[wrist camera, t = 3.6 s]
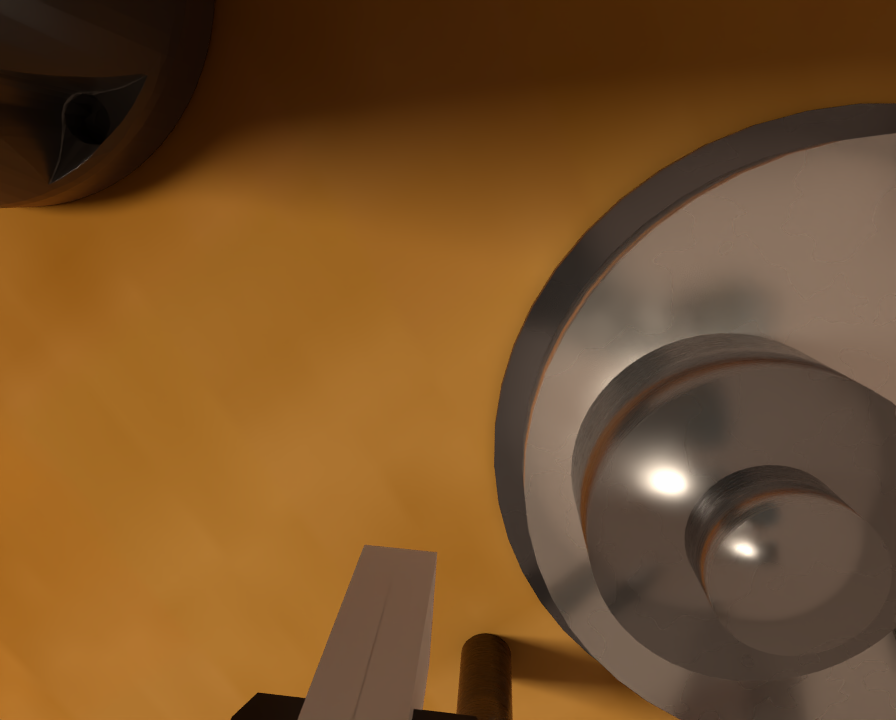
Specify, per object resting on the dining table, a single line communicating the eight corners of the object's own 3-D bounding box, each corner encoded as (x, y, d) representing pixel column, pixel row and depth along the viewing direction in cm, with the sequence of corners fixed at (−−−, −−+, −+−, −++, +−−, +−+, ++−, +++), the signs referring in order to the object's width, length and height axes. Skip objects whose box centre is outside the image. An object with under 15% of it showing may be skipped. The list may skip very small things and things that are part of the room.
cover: (556, 578, 22) (577, 718, 16) (589, 321, 19) (628, 377, 14) (826, 606, 21) (949, 762, 15) (894, 346, 19) (1069, 414, 13)
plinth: (470, 684, 26) (470, 691, 26) (527, 82, 20) (527, 80, 20) (1056, 751, 25) (1065, 760, 24) (1306, 129, 19) (1323, 128, 18)
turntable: (497, 679, 25) (497, 819, 20) (557, 115, 20) (580, 86, 14) (1053, 742, 24) (1222, 911, 18) (1284, 161, 18) (1627, 148, 13)
